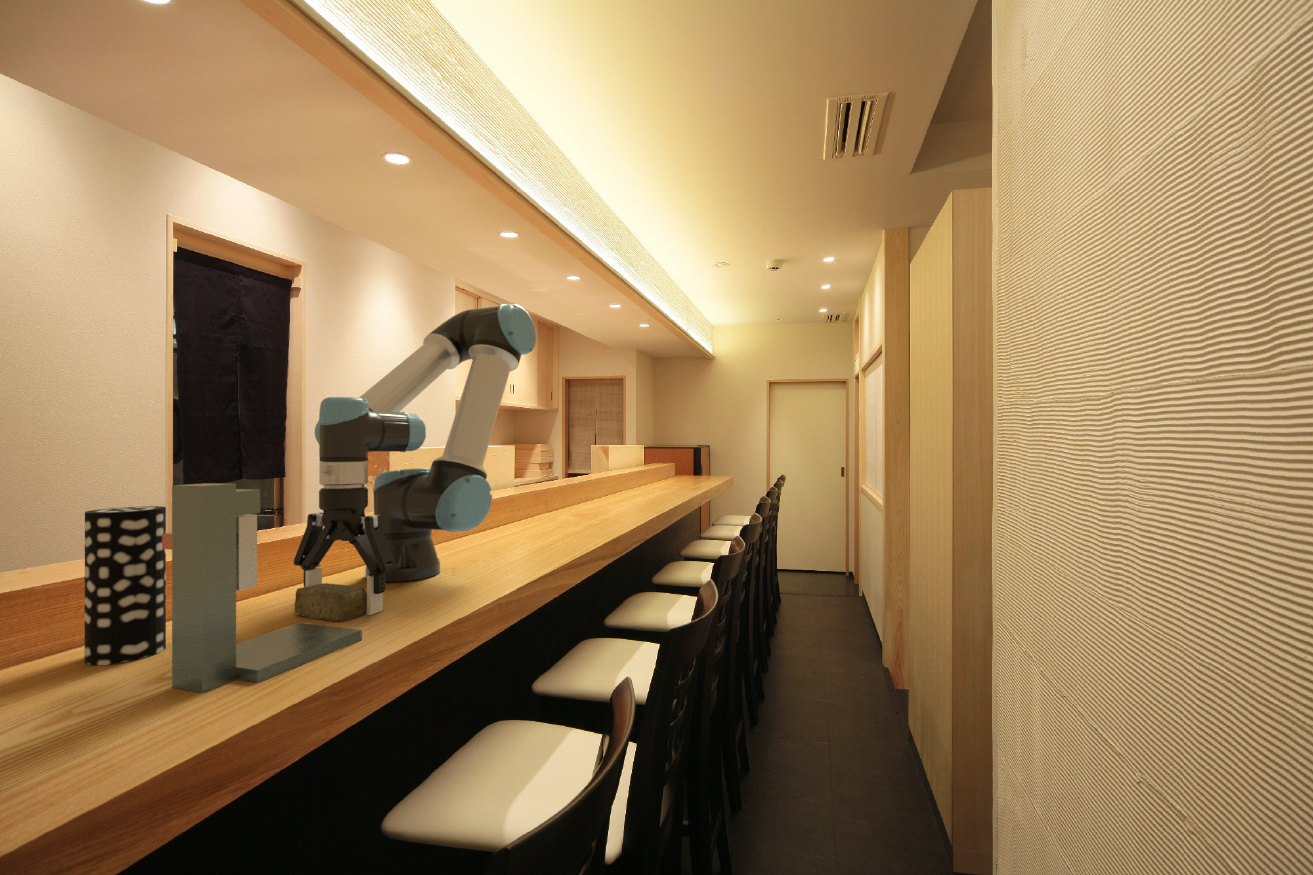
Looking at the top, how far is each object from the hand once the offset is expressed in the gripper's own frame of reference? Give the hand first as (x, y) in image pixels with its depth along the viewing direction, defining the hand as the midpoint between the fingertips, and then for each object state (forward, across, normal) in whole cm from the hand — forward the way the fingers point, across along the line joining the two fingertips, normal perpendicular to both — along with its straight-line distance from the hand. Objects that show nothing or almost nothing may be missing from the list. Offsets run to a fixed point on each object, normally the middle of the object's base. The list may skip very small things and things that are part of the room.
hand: (343, 609), depth 101 cm
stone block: (+1, 0, -3) cm, 3 cm away
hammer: (-10, +4, -25) cm, 27 cm away
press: (0, +9, -21) cm, 23 cm away
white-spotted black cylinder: (+1, -12, -25) cm, 28 cm away
